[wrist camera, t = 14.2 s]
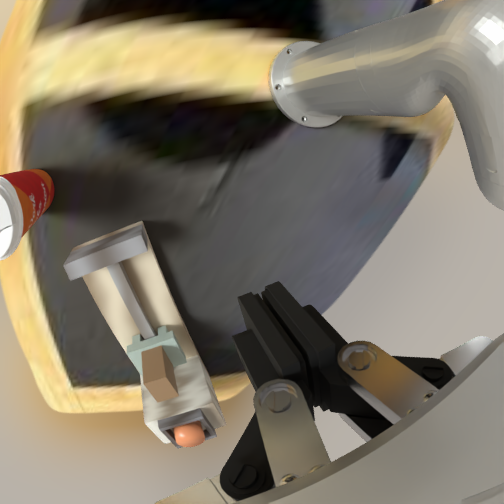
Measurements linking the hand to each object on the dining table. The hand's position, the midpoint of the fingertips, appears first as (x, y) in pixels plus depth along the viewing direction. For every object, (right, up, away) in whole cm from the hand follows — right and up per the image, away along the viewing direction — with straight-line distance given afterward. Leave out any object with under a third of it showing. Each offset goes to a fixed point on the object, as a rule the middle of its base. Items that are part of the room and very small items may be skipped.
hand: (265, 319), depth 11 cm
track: (-16, -8, +28) cm, 33 cm away
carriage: (-14, -11, +28) cm, 33 cm away
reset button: (-9, -21, +23) cm, 33 cm away
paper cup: (-27, +10, +17) cm, 33 cm away
